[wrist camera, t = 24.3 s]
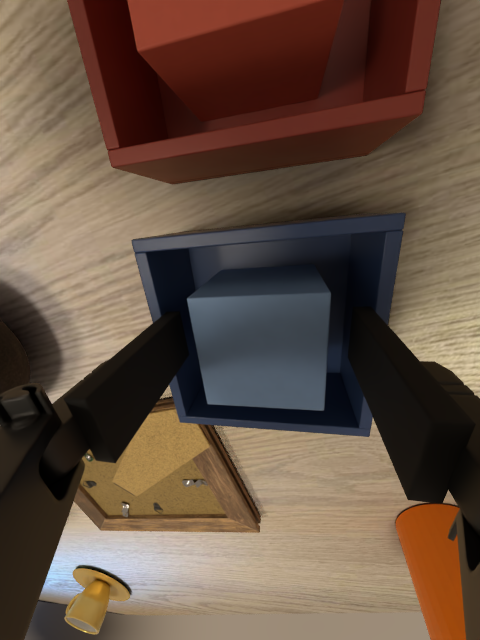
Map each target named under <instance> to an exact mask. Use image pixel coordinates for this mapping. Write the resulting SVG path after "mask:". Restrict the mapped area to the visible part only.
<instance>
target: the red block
mask: <svg viewBox="0 0 480 640" xmlns="http://www.w3.org/2000/svg"><path fill="white" fill-rule="evenodd" d="M127 1H128V6H129V11H130V16H131V21H132V26H133V31H134V37H135V42H136V47H137V51H138V52H139V54H140V55H141V56H142V57H143V58H144V59H145V60H146V61H147V62H148V64H149V65H150V66H151V67H152V68H153V69H154V70H155V71H156V72H157V74H158V75H159V76H160V77H161V78H162V79H163V80H164V81H165V82H166V84H167V85H168V86H169V87H170V88H171V89H172V90H173V91H174V92H175V94H176V95H177V96H178V97H179V98H180V99H181V100H182V101H183V102H184V104H185V105H186V106H187V107H188V108H189V109H190V110H191V111H192V112H193V114H194V115H195V116H196V117H197V118H198V119H199V120H200V121H201V122H204V121H209V120H214V119H219V118H224V117H229V116H234V115H239V114H244V113H249V112H254V111H259V110H264V109H269V108H274V107H279V106H284V105H289V104H294V103H299V102H304V101H309V100H314V99H317V98H318V96H319V92H320V88H321V85H322V81H323V77H324V74H325V70H326V66H327V62H328V59H329V55H330V51H331V48H332V44H333V40H334V37H335V33H336V29H337V26H338V22H339V18H340V14H341V11H342V7H343V3H344V0H127Z"/></svg>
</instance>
